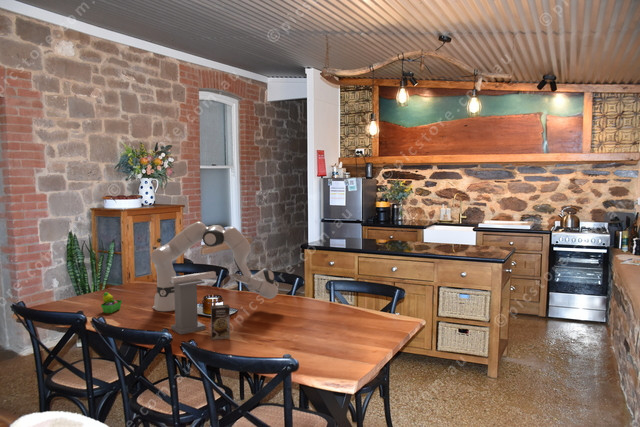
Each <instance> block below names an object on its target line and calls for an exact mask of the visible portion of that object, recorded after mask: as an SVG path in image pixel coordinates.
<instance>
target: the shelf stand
mask: <svg viewBox="0 0 640 427" xmlns="http://www.w3.org/2000/svg"><path fill="white" fill-rule="evenodd" d="M170 283H171V281H170ZM171 284H173V283H171ZM202 284H205V280H204V279H202V280H196V281H189V282H183V283H176V284H173V285H174V295H175V310H174V322H175V323H174V324H172V325H170V328H171V330H172V331H174V332H175V333H177V334H179V335H186V334H190V333H194V332H199V331H204V330H206V329H207V328H206V327H207V326H206V325H205V324H204V323H202V322H200V321H198V317H199V316H198V285H202Z"/></svg>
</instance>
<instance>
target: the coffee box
mask: <svg viewBox="0 0 640 427" xmlns="http://www.w3.org/2000/svg"><path fill="white" fill-rule="evenodd" d="M230 309H231V308H230V305H229V304H217V305H216V304H215V305H210V337H211V340H212V341H213V340H214V341H215V340H227V339H231V334H230V333H231V326H230V325H231V324H230V321H231V320H230V319H231V318H230V316H231V315H230V312H231V311H230Z"/></svg>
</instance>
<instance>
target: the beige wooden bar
mask: <svg viewBox="0 0 640 427" xmlns="http://www.w3.org/2000/svg"><path fill="white" fill-rule="evenodd" d="M214 278H217V272H216V271H214V270H212V271H206V272H204V271H203V272H198V273H197V272H196V273H191V274H190V273H189V274H185V275H178V276H177V275H176V277H171V283H173V284H176V283H183V282H189V281H196V280H208V279H214Z"/></svg>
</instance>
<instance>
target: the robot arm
mask: <svg viewBox="0 0 640 427" xmlns="http://www.w3.org/2000/svg"><path fill="white" fill-rule="evenodd" d="M200 241H202V242H203V243H204V244H205V246H207V247H211V248H213V247H217V246H219V245H222V244H223V243H224V244H226V246H227V247H228V249H230V250H231V252H232V254H233V261H234V263H235V265H236V268H237V270H239V273H240V274H239V273H234V272H232V273H231V276H232V277H234V278H233V279H234V280H235V281H237V282H240V283H242V284H245V285H247V288H248V290H249V291H250V292H252V293H254V294H256V295H257V294H258V295H259V296H261V297H263V298H265V299H269V300H272V299H274V298H276V296H277V295H278V293H279V288H278V287H277V285H276V283H275V273H274V271H273V270H272V269H270V268H268V267H264V268H262V269H261V270H259V271H257V272H256V273H255V274H252V272H251V270H250V268H249V267H248V265H247V262H246V261H247V258H248V256H249V254H250V252H251V244H250V242H249V241H248V239H247V238H246V237H245V236H244V234H243V233H241V231H240V230H238V228H237V227H235V226H230V227H227V228H225V226H223V225H222V224H210V225H207V226H206V224H205V223H203V222H202V221H196V222H194V223H192V224H190V225H188V226H187V227H185V228H184V229H183V230H181V231H179V233H177V234H176V235H174V237H173V238H172V239H171V240H170V241H168V242H167V243H166V244H163V245H162V246H158V247H157V248H155V249H154V250H153V251H152V252H151V255H150V261H151V263H153V264H154V268H155V272H156V289H155V290H156V293H155V295H154V303H153V304H154V305H153V306H152V309H154V310H155V311H157V312H172V311H175V295H174V285H173V284H171V283H170V281H171V277H176V276H177V274H176V273H177V272H176V271H175V269H174V266H173V262H174V261H176V260H177V259H178V258H179V257H181V256H182V255H184V254H185V253H186V252H187V251H188V250H189V249H190V248H192V247H193V246H195V245H196V244H198V243H199V242H200Z"/></svg>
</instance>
